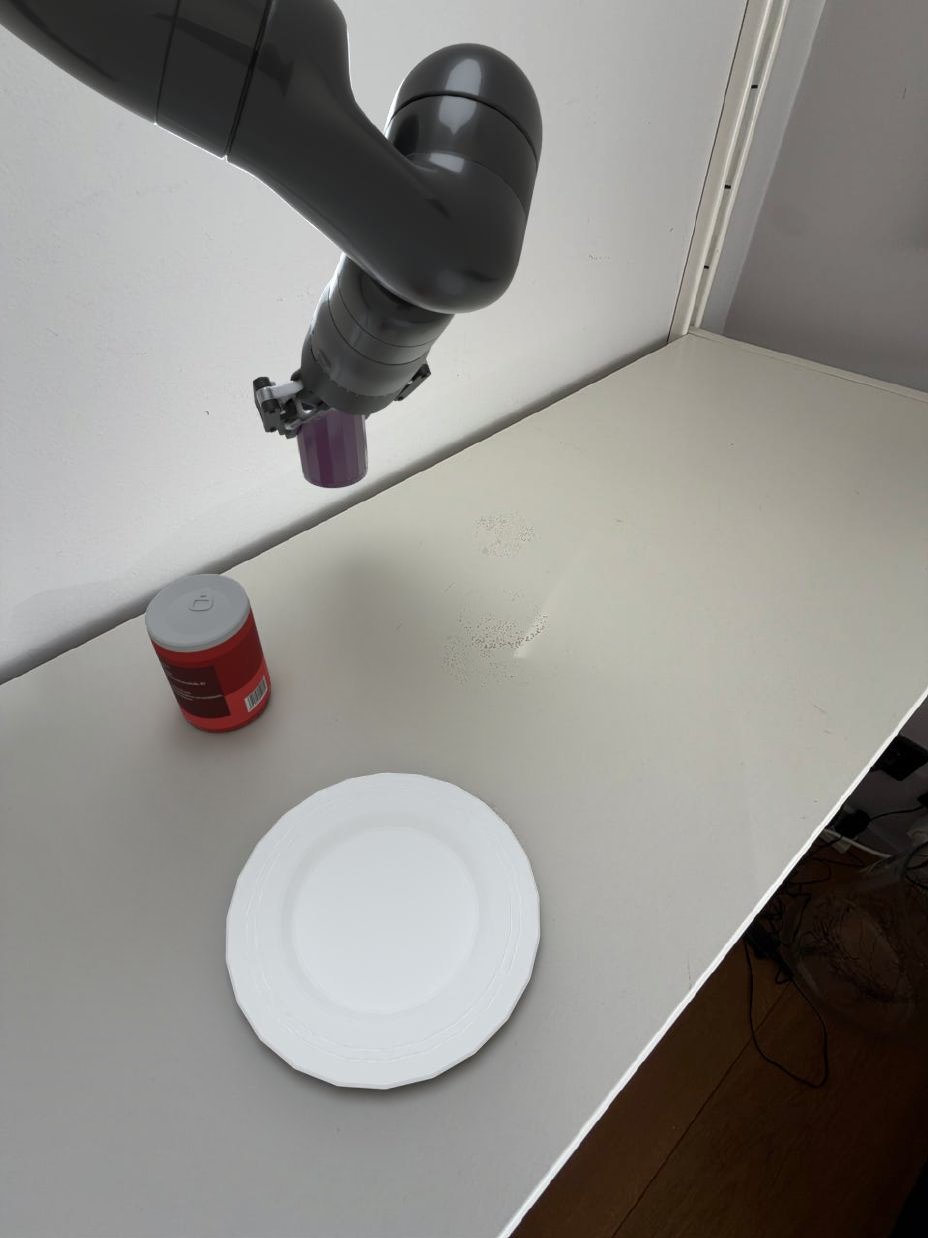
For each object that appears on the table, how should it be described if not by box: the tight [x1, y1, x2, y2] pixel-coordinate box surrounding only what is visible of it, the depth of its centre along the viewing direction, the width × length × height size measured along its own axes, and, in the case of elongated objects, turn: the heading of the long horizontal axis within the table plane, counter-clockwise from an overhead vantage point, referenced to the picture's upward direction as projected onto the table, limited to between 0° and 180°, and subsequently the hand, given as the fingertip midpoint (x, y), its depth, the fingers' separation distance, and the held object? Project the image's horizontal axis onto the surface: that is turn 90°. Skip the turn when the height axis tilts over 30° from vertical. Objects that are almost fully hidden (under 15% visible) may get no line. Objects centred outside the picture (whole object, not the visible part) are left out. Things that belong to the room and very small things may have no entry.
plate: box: [225, 771, 541, 1091], centre depth 48 cm, size 21×21×2 cm
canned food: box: [144, 573, 272, 733], centre depth 58 cm, size 8×8×11 cm
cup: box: [293, 401, 369, 489], centre depth 62 cm, size 6×6×8 cm
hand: (322, 418), depth 63 cm, fingers closed on cup, 6 cm apart
